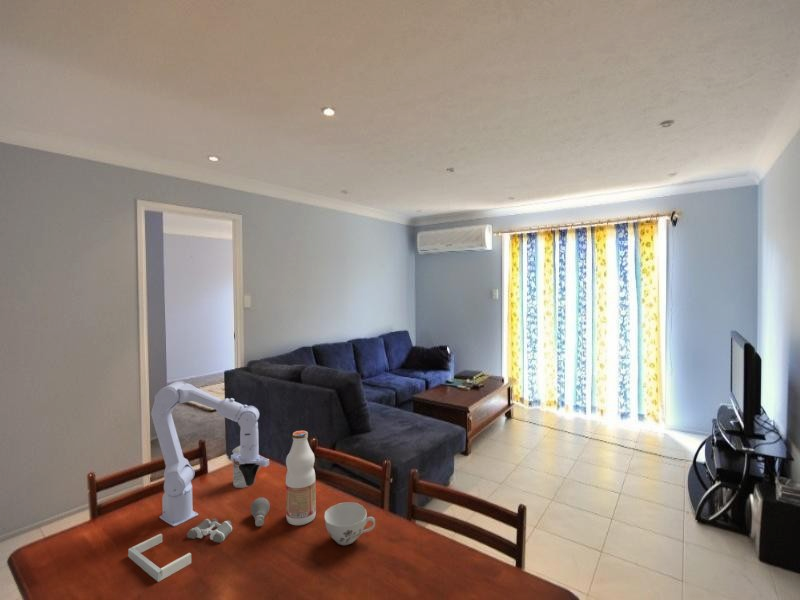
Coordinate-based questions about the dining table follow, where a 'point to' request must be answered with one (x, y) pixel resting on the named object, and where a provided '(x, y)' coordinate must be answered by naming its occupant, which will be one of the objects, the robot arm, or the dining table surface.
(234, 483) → the french press
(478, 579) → the dining table surface
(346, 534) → the teacup
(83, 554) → the dining table surface
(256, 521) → the light bulb
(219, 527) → the binoculars
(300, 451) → the fruit juice
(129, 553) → the u-shaped open frame
